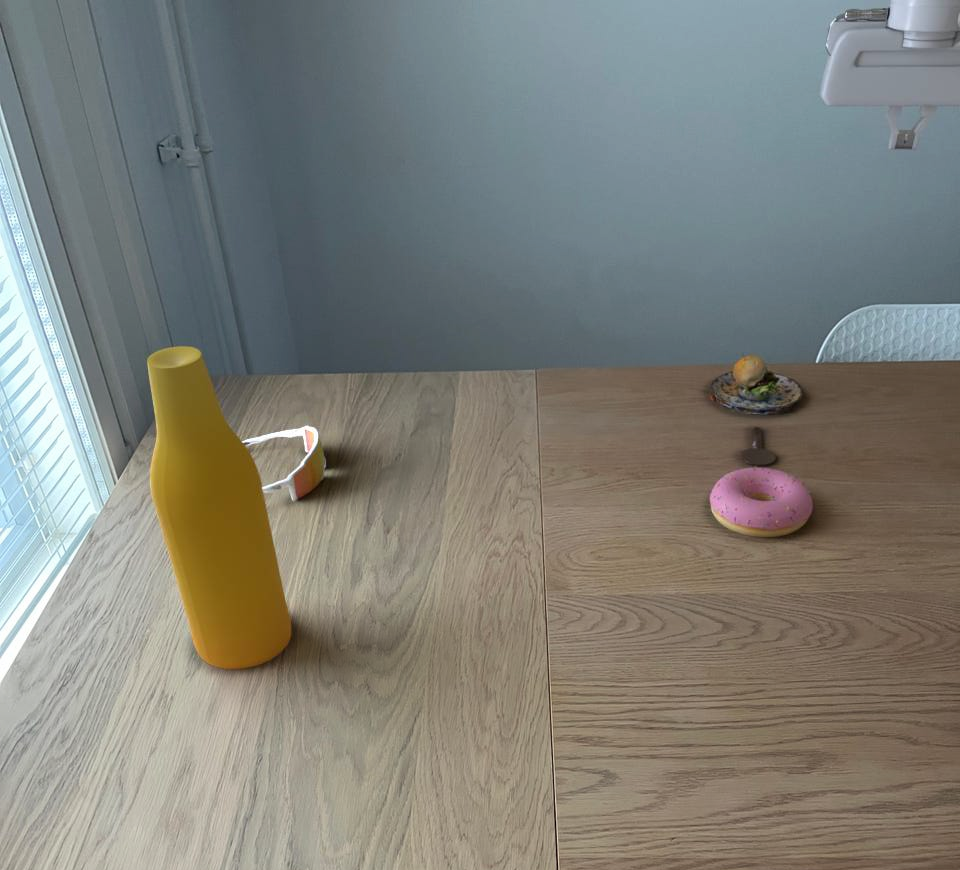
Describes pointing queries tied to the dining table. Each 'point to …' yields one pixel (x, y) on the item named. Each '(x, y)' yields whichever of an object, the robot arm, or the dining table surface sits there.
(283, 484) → the sunglasses
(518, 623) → the dining table surface
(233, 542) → the beer bottle
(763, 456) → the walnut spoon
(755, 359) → the burger
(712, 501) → the doughnut
